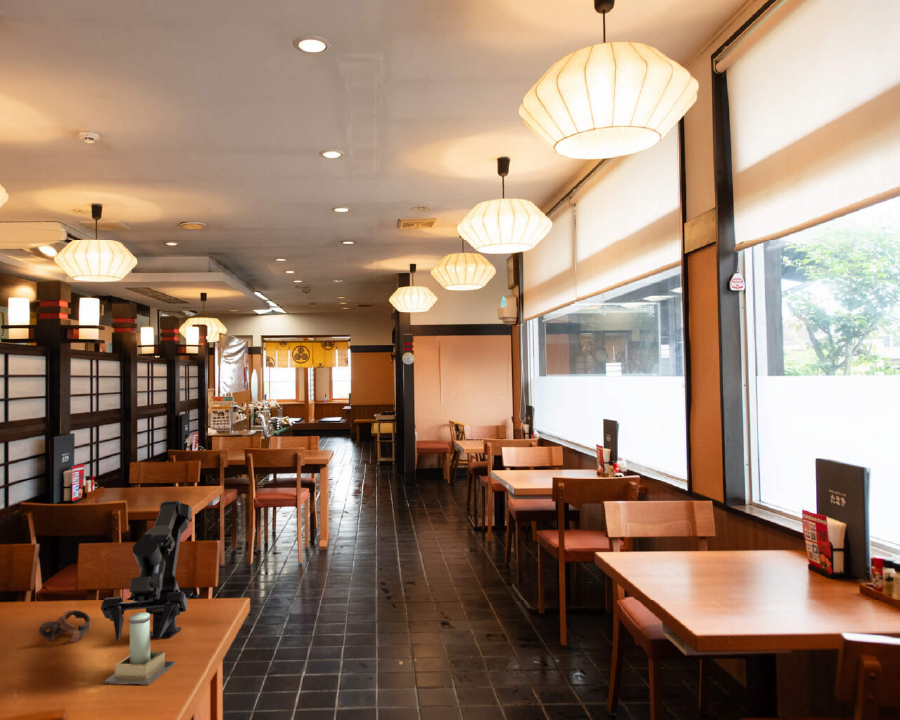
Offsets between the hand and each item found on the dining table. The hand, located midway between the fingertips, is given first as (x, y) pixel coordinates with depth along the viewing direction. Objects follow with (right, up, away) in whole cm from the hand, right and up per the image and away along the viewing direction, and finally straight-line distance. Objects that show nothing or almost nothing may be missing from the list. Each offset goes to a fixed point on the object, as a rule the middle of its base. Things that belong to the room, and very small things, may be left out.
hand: (138, 639), depth 150 cm
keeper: (0, -9, +1) cm, 9 cm away
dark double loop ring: (-32, -11, +23) cm, 41 cm away
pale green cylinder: (0, -8, +1) cm, 8 cm away
